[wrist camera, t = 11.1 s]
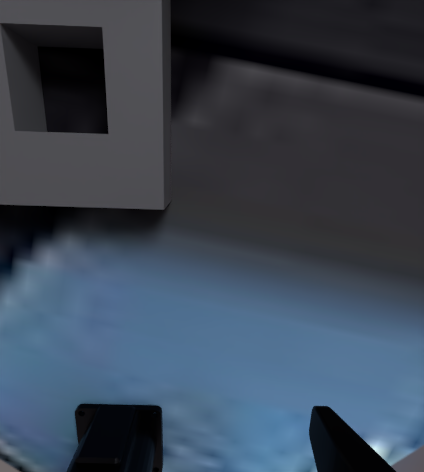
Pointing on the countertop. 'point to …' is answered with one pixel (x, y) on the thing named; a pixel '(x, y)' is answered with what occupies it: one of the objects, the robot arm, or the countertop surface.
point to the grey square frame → (118, 106)
